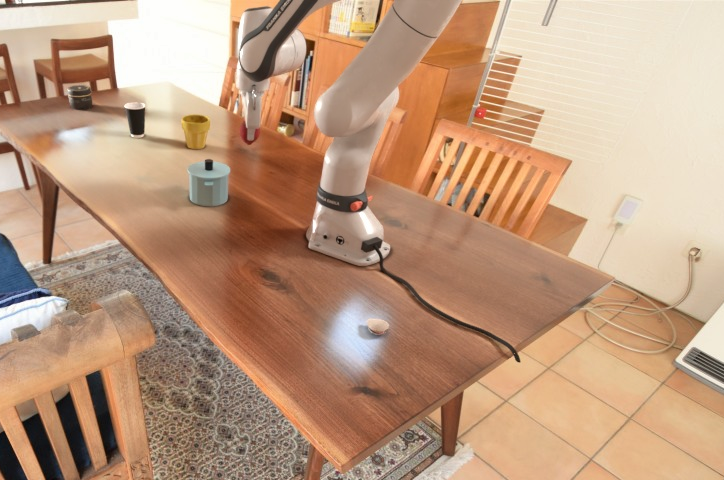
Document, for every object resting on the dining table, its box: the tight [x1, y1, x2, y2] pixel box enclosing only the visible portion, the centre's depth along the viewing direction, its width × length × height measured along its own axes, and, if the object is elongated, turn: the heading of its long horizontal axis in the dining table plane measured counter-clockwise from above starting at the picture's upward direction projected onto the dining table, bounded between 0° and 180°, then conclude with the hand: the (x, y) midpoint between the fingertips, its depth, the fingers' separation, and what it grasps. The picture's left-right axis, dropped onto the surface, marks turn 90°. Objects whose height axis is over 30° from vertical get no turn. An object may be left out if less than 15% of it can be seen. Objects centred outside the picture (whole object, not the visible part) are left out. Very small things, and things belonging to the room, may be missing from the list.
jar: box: [66, 84, 93, 111], centre depth 213 cm, size 10×10×8 cm
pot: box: [188, 173, 230, 207], centre depth 146 cm, size 12×17×8 cm
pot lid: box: [186, 158, 231, 179], centre depth 142 cm, size 13×13×4 cm
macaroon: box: [366, 318, 390, 336], centre depth 102 cm, size 4×5×2 cm
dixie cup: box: [123, 101, 147, 139], centre depth 185 cm, size 8×8×11 cm
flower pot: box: [181, 114, 211, 150], centre depth 178 cm, size 10×10×10 cm
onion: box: [238, 120, 261, 146], centre depth 136 cm, size 6×6×8 cm
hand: (249, 135), depth 137 cm, fingers closed on onion, 6 cm apart
